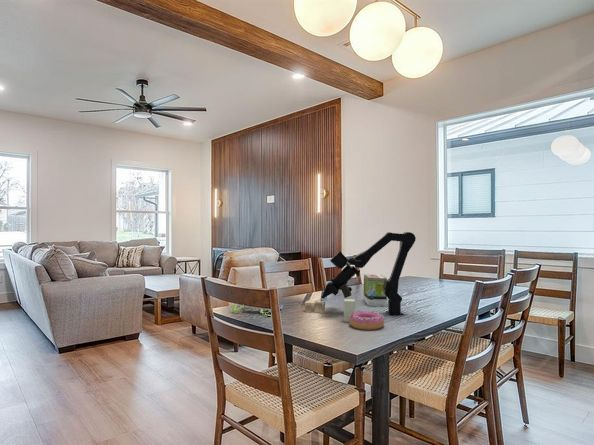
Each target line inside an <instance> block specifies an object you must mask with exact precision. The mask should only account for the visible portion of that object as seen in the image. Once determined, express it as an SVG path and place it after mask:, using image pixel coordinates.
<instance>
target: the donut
mask: <svg viewBox="0 0 594 445" xmlns="http://www.w3.org/2000/svg"><path fill="white" fill-rule="evenodd" d="M349 321H350V322H349V324H350V326H351V327H353V328H355V329H358V330H363V331H364V330H365V331H366V330H367V331H370V330H371V331H375V330H378V329H381V328H383V327H384V325H385V318H384V315H383V314H382V313H379V312H374V311H370V310H369V311H368V310H366V311H365V310H363V311H362V310H361V311H355V312H354V313H352V314H351V316H350V319H349Z"/></svg>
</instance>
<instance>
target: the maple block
mask: <svg viewBox="0 0 594 445" xmlns="http://www.w3.org/2000/svg"><path fill="white" fill-rule="evenodd" d="M304 312H305V313H321V314H322V313H323V314H324V313H325V312H326V301H323V300H306V301H305V302H304Z"/></svg>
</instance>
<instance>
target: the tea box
mask: <svg viewBox="0 0 594 445" xmlns="http://www.w3.org/2000/svg"><path fill="white" fill-rule="evenodd" d="M385 279H386V280H387V281H388V279H387V277H386V276H385V275H383V274H375V273H374V274H369V273H368V274H363V301H364V303H366V305H367V306H368V307H387V306H388V303H387V302H388V297H387V296H386V295H385V294H384V292H383V287H382V286H383V285H384V281H385Z"/></svg>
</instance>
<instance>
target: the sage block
mask: <svg viewBox="0 0 594 445" xmlns="http://www.w3.org/2000/svg"><path fill="white" fill-rule="evenodd" d="M354 312H356V299H354V298H344V300H343V322H344V323H350V321H349V319H350V316H351V314H352V313H354Z"/></svg>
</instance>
